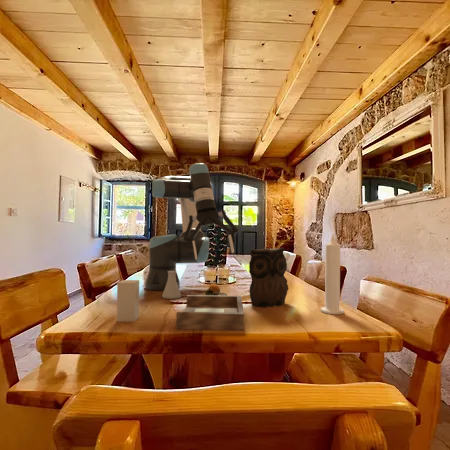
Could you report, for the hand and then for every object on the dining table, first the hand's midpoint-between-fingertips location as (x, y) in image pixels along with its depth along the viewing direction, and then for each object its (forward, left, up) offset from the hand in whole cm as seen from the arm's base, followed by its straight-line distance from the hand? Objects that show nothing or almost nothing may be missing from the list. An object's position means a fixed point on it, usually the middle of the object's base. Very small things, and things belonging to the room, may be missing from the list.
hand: (214, 255), depth 114 cm
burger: (-4, +1, -17) cm, 18 cm away
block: (+6, -33, -17) cm, 37 cm away
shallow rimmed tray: (+17, -11, -17) cm, 26 cm away
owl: (+11, +15, -17) cm, 25 cm away
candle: (+31, +26, -17) cm, 44 cm away
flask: (-14, -11, -17) cm, 24 cm away
